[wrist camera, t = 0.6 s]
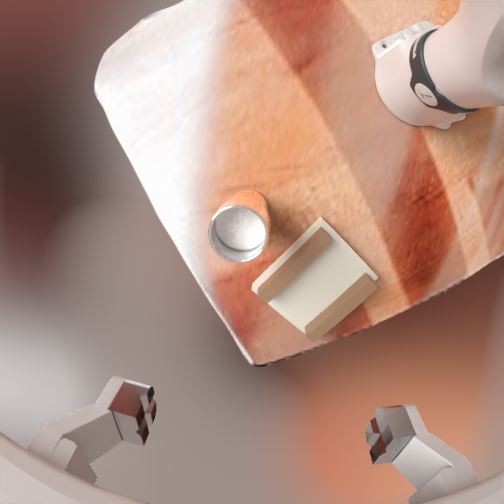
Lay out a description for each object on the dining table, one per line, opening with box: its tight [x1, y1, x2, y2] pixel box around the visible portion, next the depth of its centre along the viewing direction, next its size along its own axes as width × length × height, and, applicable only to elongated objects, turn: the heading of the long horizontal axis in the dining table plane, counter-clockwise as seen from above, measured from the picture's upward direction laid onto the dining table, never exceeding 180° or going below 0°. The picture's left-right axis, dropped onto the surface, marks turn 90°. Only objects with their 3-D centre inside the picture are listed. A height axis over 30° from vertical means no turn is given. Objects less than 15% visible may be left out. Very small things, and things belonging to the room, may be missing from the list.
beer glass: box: [208, 190, 271, 263], centre depth 38 cm, size 7×7×15 cm
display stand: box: [252, 216, 378, 342], centre depth 46 cm, size 16×14×6 cm
